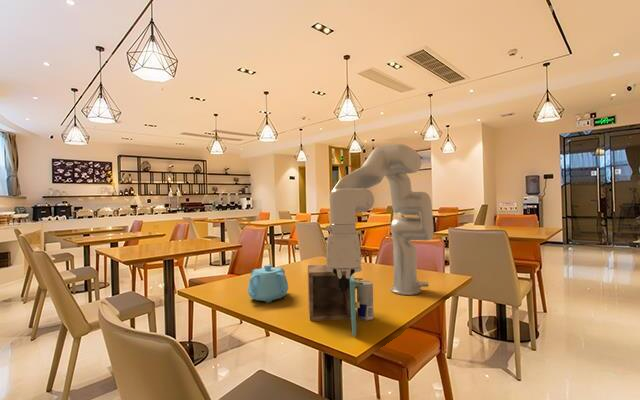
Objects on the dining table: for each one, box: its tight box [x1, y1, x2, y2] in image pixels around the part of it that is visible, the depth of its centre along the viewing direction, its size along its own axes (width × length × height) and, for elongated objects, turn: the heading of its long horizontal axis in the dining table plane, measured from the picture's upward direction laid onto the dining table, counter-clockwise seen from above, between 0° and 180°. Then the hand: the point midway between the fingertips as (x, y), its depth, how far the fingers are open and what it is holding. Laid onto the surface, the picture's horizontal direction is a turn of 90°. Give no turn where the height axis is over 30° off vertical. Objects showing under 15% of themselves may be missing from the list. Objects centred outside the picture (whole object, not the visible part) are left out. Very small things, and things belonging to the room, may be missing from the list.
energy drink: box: [356, 280, 374, 322], centre depth 110 cm, size 5×5×12 cm
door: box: [350, 273, 360, 337], centre depth 102 cm, size 14×2×15 cm, turn 177°
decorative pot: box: [247, 264, 289, 303], centre depth 135 cm, size 16×16×14 cm
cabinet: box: [307, 264, 351, 322], centre depth 115 cm, size 14×12×16 cm
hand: (344, 290), depth 98 cm, fingers closed
